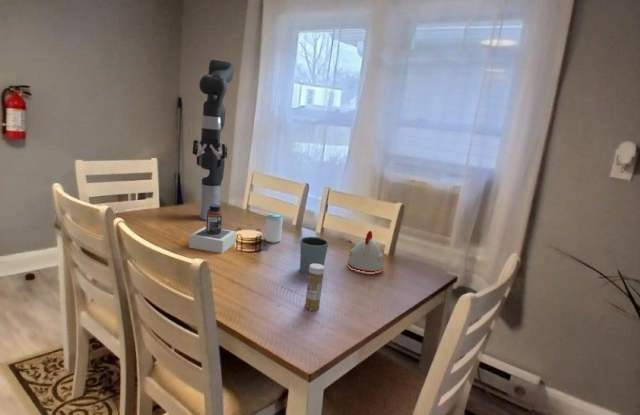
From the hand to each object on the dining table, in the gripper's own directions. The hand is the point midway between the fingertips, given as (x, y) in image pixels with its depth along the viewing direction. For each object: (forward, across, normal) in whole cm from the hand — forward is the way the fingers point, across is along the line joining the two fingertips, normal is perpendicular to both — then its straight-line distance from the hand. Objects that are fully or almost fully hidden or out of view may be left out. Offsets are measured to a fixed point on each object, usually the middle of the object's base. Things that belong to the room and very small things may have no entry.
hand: (209, 166), depth 174 cm
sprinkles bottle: (+30, +57, -48) cm, 80 cm away
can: (+30, +28, +8) cm, 42 cm away
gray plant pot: (+30, +51, -20) cm, 63 cm away
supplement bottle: (+25, +8, -10) cm, 28 cm away
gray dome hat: (+30, +70, -6) cm, 77 cm away
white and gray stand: (+30, +8, -10) cm, 33 cm away
